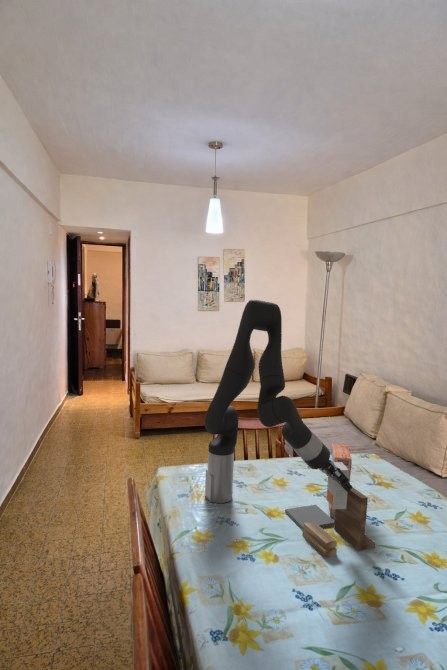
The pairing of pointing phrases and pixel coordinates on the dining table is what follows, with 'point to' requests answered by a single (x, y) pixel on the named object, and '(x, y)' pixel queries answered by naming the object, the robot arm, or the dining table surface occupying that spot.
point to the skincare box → (337, 489)
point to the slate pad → (309, 516)
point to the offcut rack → (342, 527)
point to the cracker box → (340, 455)
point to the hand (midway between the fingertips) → (342, 483)
